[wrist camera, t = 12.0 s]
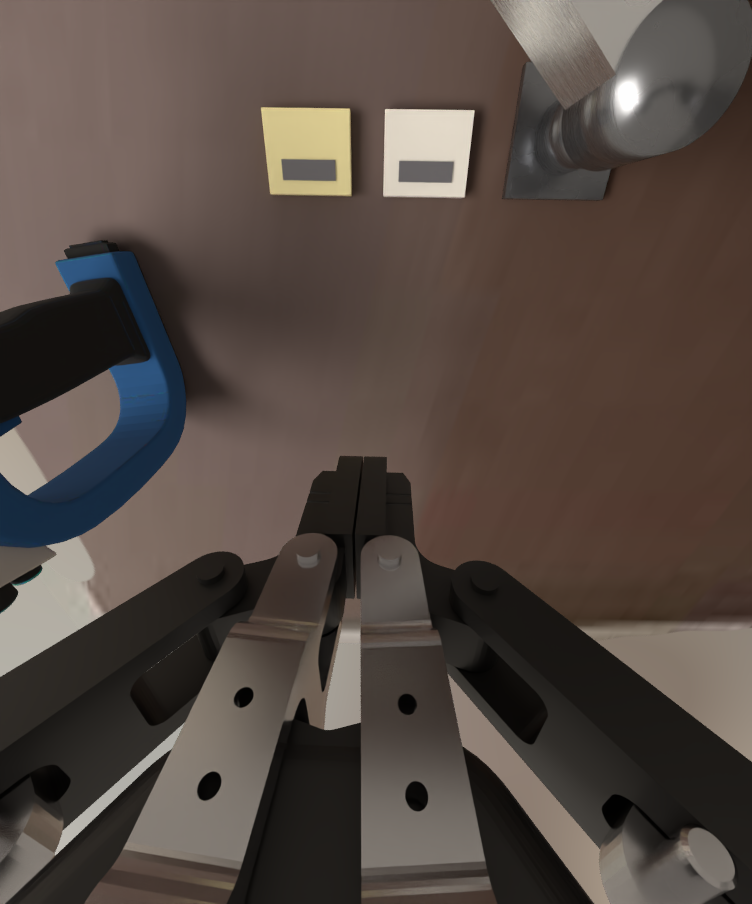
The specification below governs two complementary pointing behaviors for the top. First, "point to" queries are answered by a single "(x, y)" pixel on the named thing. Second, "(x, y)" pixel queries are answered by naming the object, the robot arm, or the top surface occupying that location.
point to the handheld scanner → (69, 365)
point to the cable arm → (634, 70)
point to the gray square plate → (544, 150)
